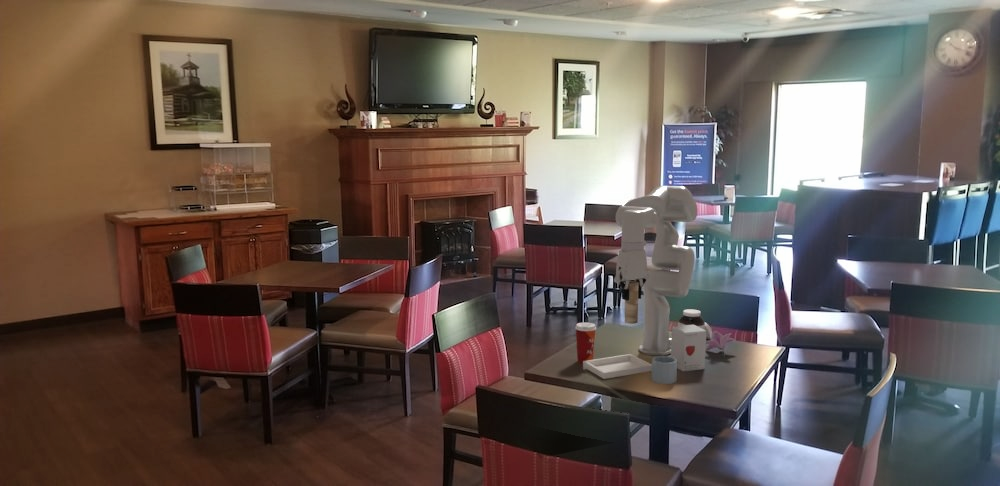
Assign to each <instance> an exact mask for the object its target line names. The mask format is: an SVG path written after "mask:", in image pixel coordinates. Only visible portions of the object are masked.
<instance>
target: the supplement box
mask: <svg viewBox="0 0 1000 486" xmlns="http://www.w3.org/2000/svg"><path fill="white" fill-rule="evenodd" d="M671 339H672V342H671V353H670V357H673V358H675V359H677V370H679V371H682V372H691V371H697V370H706V369H705V366H706V352H707V351H706V348H707V344H706V341H707V338H706V330H704V329H702V328H700V327H698V326H696V325H681V326H678V325H672V326H671Z"/></svg>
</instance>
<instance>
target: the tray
mask: <svg viewBox="0 0 1000 486" xmlns="http://www.w3.org/2000/svg"><path fill="white" fill-rule="evenodd" d="M582 370H583V371H584V370H588V371H590V372H591V373H593V374H595V375H596V376H598V377H600V378H602V379H603V380H605V379H612V378H616V377H618V378H619V377H623V376H631V375H636V374H640V373H641V374H642V373H643V374H644V373H648V372H652V363H650V362H648V361H646V360H644V359H642V358H640V357H638V356H636V355H634V354H632V353H628V354H620V355H614V356H608V357H602V358H601V357H600V358H596V359H595V358H593V360H587V361H583V364H582Z"/></svg>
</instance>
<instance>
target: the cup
mask: <svg viewBox="0 0 1000 486" xmlns="http://www.w3.org/2000/svg"><path fill="white" fill-rule="evenodd" d="M651 364H652V371H651V377H650V378H651V381H652V382H654V383H658V384H662V385H669V384H670V385H671V384H675V383H676V382H677V380H678V379H677V374H678V368H677V359H675V358H673V357H671V356H668V355H655V356H654V357H651Z"/></svg>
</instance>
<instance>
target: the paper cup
mask: <svg viewBox="0 0 1000 486" xmlns="http://www.w3.org/2000/svg"><path fill="white" fill-rule="evenodd" d="M574 328H575V336H576V337H575V338H576V340H575V341H576V355H577V358H576V359H577V362H578V363H579V364H582V365H583V361H587V360H593V359H594V353H595V339H596V330H597V327H596V324H594V323H592V322H578V323H576V326H575V327H574Z"/></svg>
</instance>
